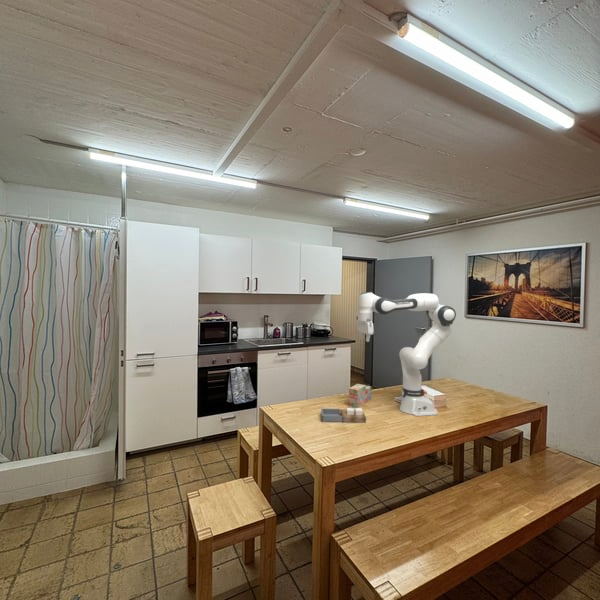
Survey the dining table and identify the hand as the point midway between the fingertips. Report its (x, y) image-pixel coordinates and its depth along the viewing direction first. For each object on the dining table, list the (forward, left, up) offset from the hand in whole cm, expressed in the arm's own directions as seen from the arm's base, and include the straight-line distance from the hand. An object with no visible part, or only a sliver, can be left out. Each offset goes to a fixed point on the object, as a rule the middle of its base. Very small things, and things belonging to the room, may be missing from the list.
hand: (364, 340), depth 193 cm
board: (+9, +13, -44) cm, 47 cm away
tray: (+21, +13, -44) cm, 51 cm away
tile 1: (+10, +13, -41) cm, 44 cm away
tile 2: (+5, +13, -41) cm, 44 cm away
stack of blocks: (-1, -13, -45) cm, 47 cm away
